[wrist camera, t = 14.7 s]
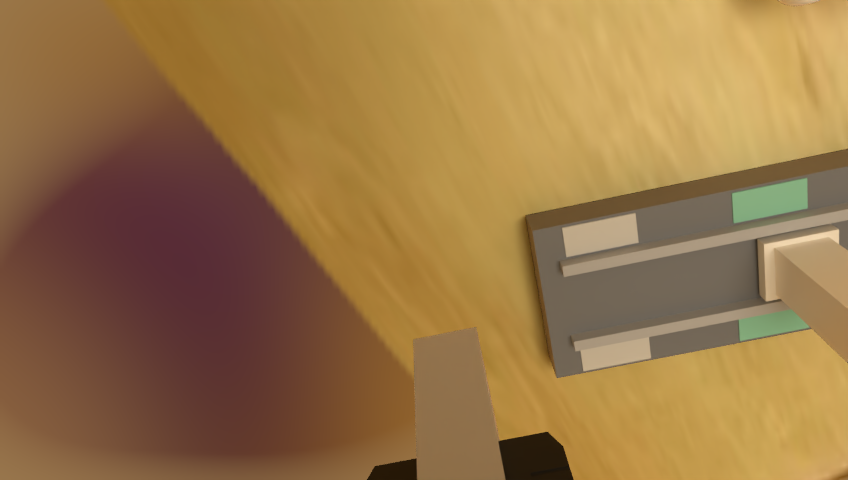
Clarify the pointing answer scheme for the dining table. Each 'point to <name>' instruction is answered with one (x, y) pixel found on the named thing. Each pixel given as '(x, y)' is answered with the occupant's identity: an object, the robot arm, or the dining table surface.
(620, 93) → the dining table surface
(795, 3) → the mug
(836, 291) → the slider tab
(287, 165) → the dining table surface
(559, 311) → the switch panel
